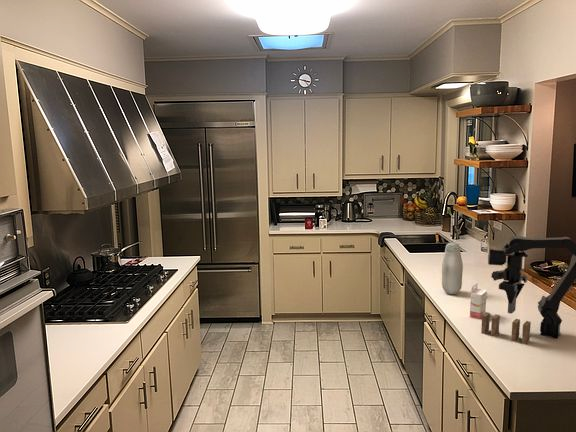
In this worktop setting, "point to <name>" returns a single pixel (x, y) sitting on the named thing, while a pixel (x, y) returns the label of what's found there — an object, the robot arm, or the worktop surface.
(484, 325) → the domino
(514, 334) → the domino
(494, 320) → the domino
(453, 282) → the gray bottle
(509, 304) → the gray domino
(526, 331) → the domino
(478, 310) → the ink cartridge box
